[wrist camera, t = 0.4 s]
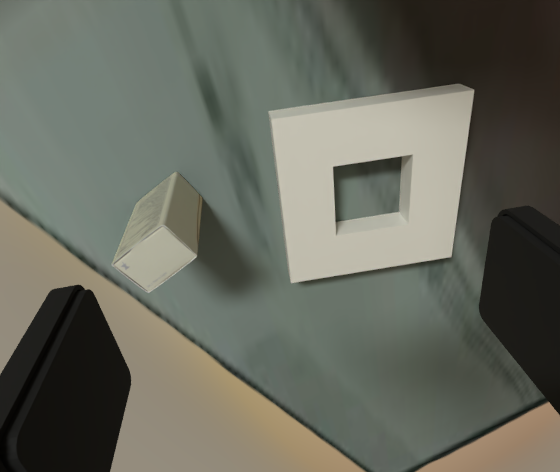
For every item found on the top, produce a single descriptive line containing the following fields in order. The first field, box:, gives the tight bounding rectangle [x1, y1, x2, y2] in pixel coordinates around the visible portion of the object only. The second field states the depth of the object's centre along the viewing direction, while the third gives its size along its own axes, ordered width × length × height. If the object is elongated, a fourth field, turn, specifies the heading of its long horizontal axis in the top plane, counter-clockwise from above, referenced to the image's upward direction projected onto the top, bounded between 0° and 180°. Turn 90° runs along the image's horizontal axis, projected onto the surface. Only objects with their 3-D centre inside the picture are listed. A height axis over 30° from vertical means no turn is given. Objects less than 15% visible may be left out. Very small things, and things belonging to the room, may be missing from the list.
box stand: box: [268, 84, 474, 283], centre depth 46 cm, size 20×20×3 cm
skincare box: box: [112, 172, 203, 293], centre depth 40 cm, size 6×4×12 cm
